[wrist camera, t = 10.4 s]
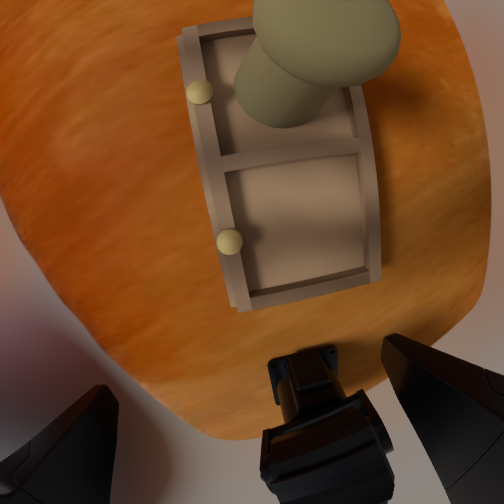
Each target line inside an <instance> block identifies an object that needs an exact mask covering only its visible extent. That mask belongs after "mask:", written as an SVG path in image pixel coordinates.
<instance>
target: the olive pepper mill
mask: <svg viewBox="0 0 504 504" xmlns="http://www.w3.org/2000/svg"><path fill="white" fill-rule="evenodd" d="M252 25H253V28H254V30H255V33H256V35H257V37H256V38H255V40H254V42H253V43H252V45H251V47H250V48H249V50H248V52H247V53H246V55H245V57H244V59H243V60H242V62H241V64H240V66H239V68H238V70H237V73H236V75H235V79H234V91H235V94H236V98H237V101H238V103H239V104H240V106H241V107H242V108H243V110H244V111H245V112H246V114H247V115H249V116H250V117H252V118H253V119H254V120H256V121H257V122H258V123H261V124H264V125H267V126H269V127H272V128H286V129H287V128H292V127H296V126H300V125H302V124H304V123H306V122H307V121H309V120H311V119H312V118H313V117H314V116H315V114H316V113H317V112H318V111H319V110H320V109H321V107H322V106H323V105H324V104H325V103H326V102H327V101H328V99H329V98H330V97H331V96H332V95H333V94H334V93H335V91H336V90H337V89H338V88H339V87H348V86H359V85H361V84H363V83H365V82H367V81H369V80H371V79H373V78H375V77H378V76H380V75H382V74H383V73H384V71H385V70H386V69H387V68H388V67H389V65H390V64H391V63H392V62H393V61H394V59H395V58H396V57H397V54H398V50H399V46H400V40H401V32H400V26H399V21H398V18H397V16H396V14H395V12H394V10H393V8H392V6H391V4H390V3H389V2H388V1H387V0H254V6H253V23H252Z"/></svg>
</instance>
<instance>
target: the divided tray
mask: <svg viewBox="0 0 504 504" xmlns="http://www.w3.org/2000/svg"><path fill="white" fill-rule="evenodd" d="M252 23H253V17H247V18H238V19H230V20H223V21H217V22H211V23H205V24H200V25H195V26H191V27H186V28H182V35H180V36H176V37H177V44H178V50H179V57H180V63H181V69H182V76H183V82H184V88H185V94H186V99H187V105H188V111H189V116H190V122H191V127H192V133H193V138H194V143H195V148H196V153H197V158H198V163H199V168H200V173H201V178H202V183H203V188H204V193H205V197H206V202H207V207H208V211H209V216H210V220H211V225H212V229H213V234H214V238H215V243H216V247H217V251H218V256H219V260H220V264H221V268H222V272H223V277H224V281H225V285H226V289H227V293H228V297H229V301H230V305H231V307H236V306H237V310H238V313H241V312H247V311H252V310H257V309H262V308H267V307H271V306H276V305H281V304H286V303H290V302H295V301H299V300H304V299H308V298H312V297H317V296H321V295H325V294H329V293H333V292H337V291H341V290H345V289H349V288H353V287H357V286H361V285H364V284H368V283H372V282H375V281H379V280H381V228H380V209H379V195H378V184H377V174H376V165H375V157H374V150H373V143H372V137H371V130H370V125H369V119H368V114H367V109H366V104H365V99H364V94H363V90H362V86H361V85H359V86H348V87H339V88H338V89H337V90H336V91H335V93H334V94H333V95H332V96H331V97H330V98H329V99H328V101H327V102H326V103H325V104H324V105H323V106H322V107H321V109H320V110H319V111H318V112H317V113H316V114H315V116H314V117H313V118H312V119H311V120H309V121H307V122H306V123H304V124H302V125H300V126H296V127H292V128H287V129H286V128H272V127H269V126H267V125H264V124H261V123H258V122H257V121H256V120H254V119H253V118H252V117H250V116H249V115H247V114H246V112H245V111H244V110H243V108H242V107H241V106H240V104H239V103H238V101H237V98H236V94H235V91H234V79H235V75H236V73H237V70H238V68H239V66H240V64H241V62H242V60H243V59H244V57H245V55H246V53H247V52H248V50H249V48H250V47H251V45H252V43H253V42H254V40H255V38H256V37H257V35H256V33H255V30H254V28H253V25H252Z"/></svg>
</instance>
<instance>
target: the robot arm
mask: <svg viewBox="0 0 504 504" xmlns="http://www.w3.org/2000/svg"><path fill="white" fill-rule="evenodd" d="M331 350H333V351H331ZM330 351H331V352H330ZM337 352H338V351H337V348H336V347H335V346H334V345H331V346H328V347H324V348H320V349H316V350H312V351H308V352H304V353H300V354H296V355H291V356H287V357H282V358H278V359H273V360H270V361H269V362H268V364H267V365H268V370H269V375H270V379H271V384H272V389H273V393H274V398H275V403H276V405H281V410H282V415H283V419H284V424H283V425H280V426H278V427H275V428H272V429H270V428H269V429H266V430H263V438H262V445H261V459H260V472H261V475H260V476H261V479H262V480H263V481H265V483H266V485H267V487H268V488H269V490H270V491H271V492H272V493H273V494H275V495H277V498H278V500H279V502H280V504H387V503H388V501H389V500H390V499H391V498H392V496H393V491H394V474H393V471H392V469H391V467H390V464H389V462H388V459H387V457H386V454H388V453H389V452H392V451H393V450H394V449H393V445H392V442H391V439H390V437H389V434H388V432H387V430H386V428H385V426H384V424H383V422H382V420H381V418H380V416H379V415H378V413H377V411H376V410H375V408H374V407H373V405H372V403H371V402H370V400H369V399H368V397H367V395H366V394H365V392H364V391H363V389H361V390H359V391H357V393H355V394H353V395H351V396H349V397H346V395H345V392H344V390H343V388H342V386H341V384H340V382H339V380H338V378H337ZM381 360H382V363H383V365H384V368H385V370H386V372H387V375H388V377H389V379H390V382H391V384H392V386H393V389H394V391H395V394H396V396H397V398H398V400H399V402H400V404H401V406H402V408H403V409H404V411H405V413H406V415H407V417H408V418H409V420H410V422H411V424H412V425H413V428H414V429H415V431H416V433H417V435H418V437H419V439H420V440H421V442H422V444H423V446H424V448H425V450H426V452H427V454H428V456H429V458H430V460H431V462H432V464H433V466H434V468H435V470H436V472H437V474H438V476H439V478H440V480H441V483H442V485H443V487H444V489H445V490H446V494H447V496H448V498H449V500H450V503H451V504H504V375H501V374H499V373H496V372H493V371H490V370H488V369H484V368H482V367H480V366H477V365H475V364H472V363H469V362H467V361H464V360H462V359H459V358H457V357H454V356H452V355H449V354H446V353H444V352H442V351H439V350H437V349H434V348H432V347H429V346H427V345H424V344H422V343H420V342H417V341H415V340H412V339H410V338H407V337H405V336H402V335H400V334H398V333H393V334H390V335H387V336H385V337H384V339H383V344H382V352H381ZM273 364H275V365H273ZM272 365H273V366H272ZM118 413H119V403H118V400H117V399H116V397H115V396H114V394H113V393H112V391H111V390H110V388H109V387H108V386H107V385H105V384H97V385H94V386H93V387H92V388H91V389H90V390H88V391H87V392H86V393H85V394H84V395H83V396H81V397H80V398H79V399H78V400H77V401H75V402H74V403H73V404H72V405H71V406H69V407H68V408H67V409H66V410H65V411H64V412H62V413H61V414H60V415H59V416H58V417H56V418H55V419H54V420H53V421H52V422H50V423H49V424H48V425H47V426H46V427H44V428H43V429H42V430H41V431H40V432H38V433H37V434H36V435H35V436H34V437H32V438H31V440H29V441H28V442H26V443H25V444H24V445H23V446H22V447H20V448H19V449H18V450H17V451H15V452H14V453H13V454H11V455H10V456H8V457H7V458H5V459H4V460H3V461H1V462H0V504H110V496H111V485H112V476H113V467H114V460H115V452H116V445H117V431H118V415H119V414H118Z"/></svg>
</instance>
